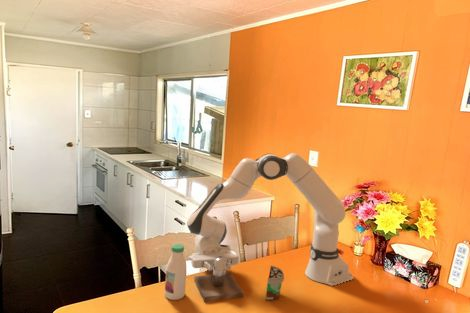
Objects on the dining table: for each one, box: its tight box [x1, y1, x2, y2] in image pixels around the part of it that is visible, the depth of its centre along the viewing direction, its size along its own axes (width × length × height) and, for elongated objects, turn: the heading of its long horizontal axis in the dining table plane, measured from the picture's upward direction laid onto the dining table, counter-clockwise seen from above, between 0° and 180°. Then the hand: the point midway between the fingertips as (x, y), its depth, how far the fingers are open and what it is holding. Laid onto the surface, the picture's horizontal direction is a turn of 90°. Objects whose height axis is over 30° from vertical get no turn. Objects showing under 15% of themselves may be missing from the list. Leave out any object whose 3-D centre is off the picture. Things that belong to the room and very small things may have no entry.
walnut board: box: [193, 272, 244, 303], centre depth 137 cm, size 16×16×2 cm
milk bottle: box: [164, 243, 187, 301], centre depth 128 cm, size 8×8×20 cm
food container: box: [265, 265, 285, 302], centre depth 135 cm, size 12×6×10 cm, turn 168°
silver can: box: [212, 256, 227, 287], centre depth 136 cm, size 5×5×11 cm
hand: (220, 267), depth 135 cm, fingers open, 6 cm apart
